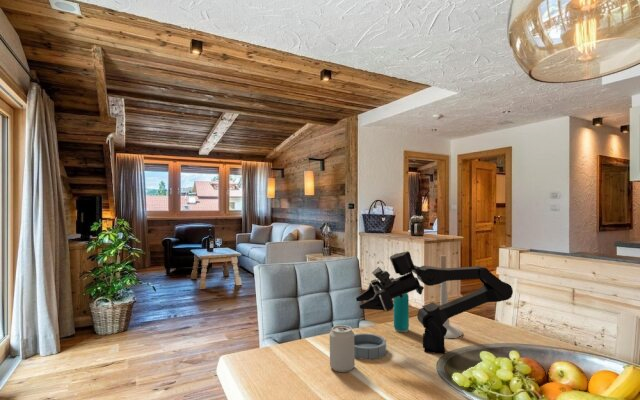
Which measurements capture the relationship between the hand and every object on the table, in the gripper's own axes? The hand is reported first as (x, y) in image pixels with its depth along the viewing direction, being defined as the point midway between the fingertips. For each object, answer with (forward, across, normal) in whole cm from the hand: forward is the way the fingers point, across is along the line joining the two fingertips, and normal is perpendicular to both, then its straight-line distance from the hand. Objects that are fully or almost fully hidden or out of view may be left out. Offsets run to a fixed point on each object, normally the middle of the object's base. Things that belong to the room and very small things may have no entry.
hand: (358, 303), depth 118 cm
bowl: (+3, 0, +16) cm, 16 cm away
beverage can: (-12, -19, +22) cm, 32 cm away
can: (+12, +12, +13) cm, 21 cm away
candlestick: (-27, -16, +28) cm, 42 cm away
